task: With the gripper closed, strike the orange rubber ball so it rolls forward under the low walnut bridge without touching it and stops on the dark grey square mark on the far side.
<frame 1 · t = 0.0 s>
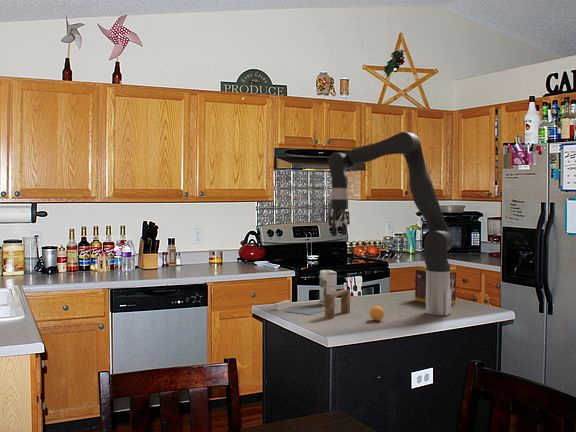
hand: (339, 235, 269), 29 cm above the counter, tool pointing down, fingers open, 8 cm apart
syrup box: (327, 304, 265), on the counter
bridge: (337, 315, 241), on the counter
supplement box: (435, 302, 271), on the counter
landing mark: (305, 311, 250), on the counter
ball: (377, 313, 232), on the counter
stopper wall: (283, 308, 256), on the counter
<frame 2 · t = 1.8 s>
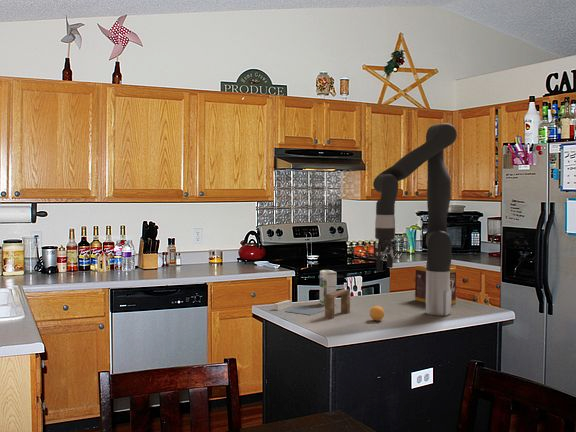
hand: (384, 268, 236), 19 cm above the counter, tool pointing down, fingers open, 8 cm apart
nothing on the counter moved.
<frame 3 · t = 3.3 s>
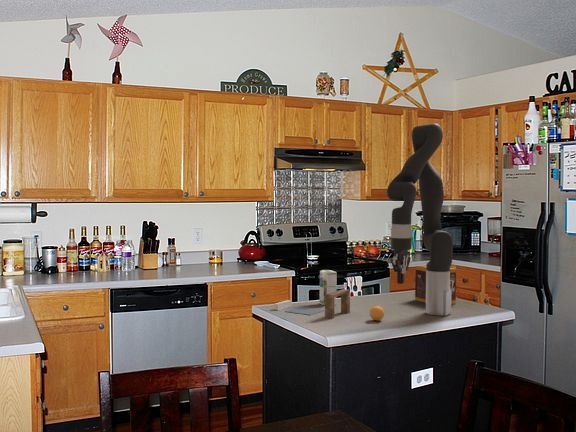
hand: (400, 283, 226), 15 cm above the counter, tool pointing down, fingers closed
nothing on the counter moved.
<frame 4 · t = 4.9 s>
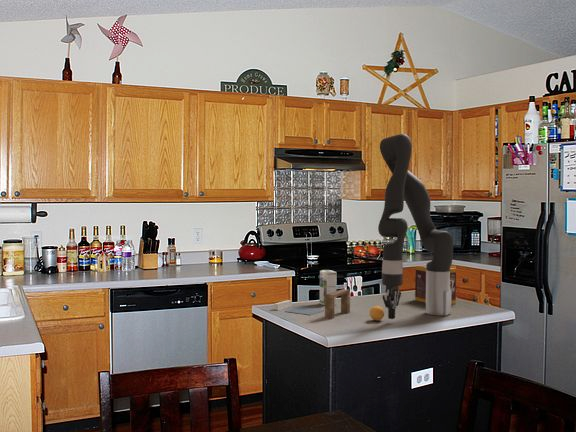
hand: (391, 318, 228), 2 cm above the counter, tool pointing down, fingers closed
nothing on the counter moved.
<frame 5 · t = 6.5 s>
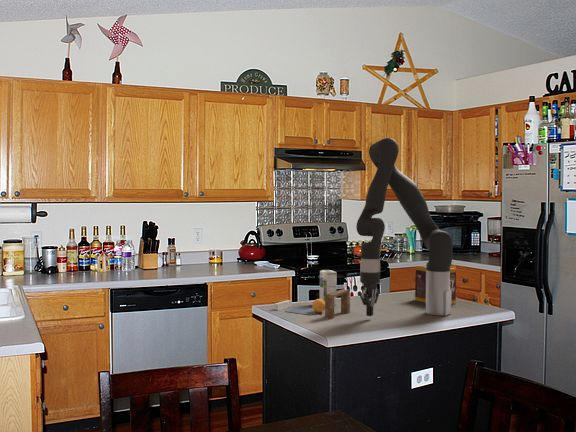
hand: (369, 315, 233), 2 cm above the counter, tool pointing down, fingers closed
ball: (319, 305, 247), on the counter
everything else where it was.
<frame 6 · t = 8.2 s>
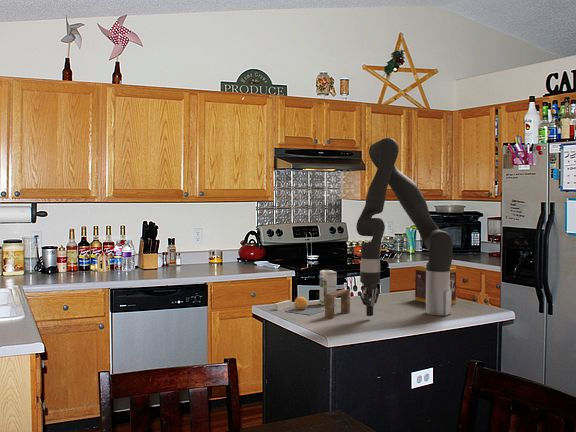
hand: (369, 315, 233), 2 cm above the counter, tool pointing down, fingers closed
ball: (300, 303, 252), on the counter
everything else where it was.
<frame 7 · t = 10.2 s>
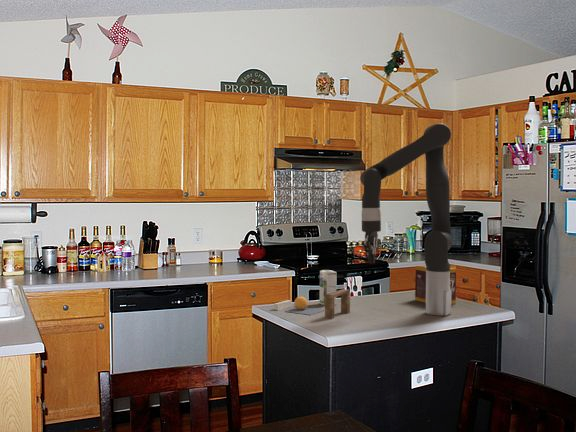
hand: (371, 263, 243), 20 cm above the counter, tool pointing down, fingers closed
nothing on the counter moved.
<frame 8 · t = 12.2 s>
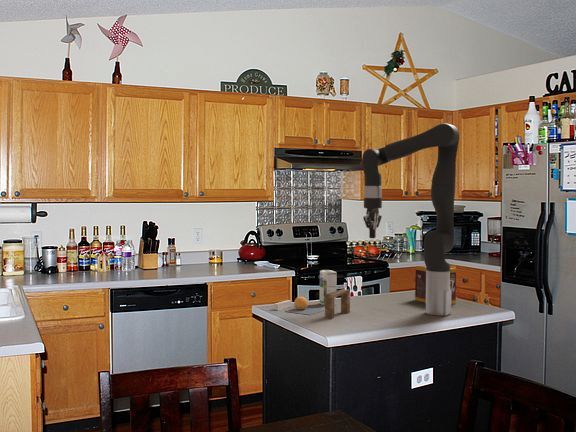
hand: (372, 238, 258), 29 cm above the counter, tool pointing down, fingers closed
nothing on the counter moved.
at the end: ball 2.9 cm from the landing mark (horizontally); ball never touched bridge; ball at rest at the end (0.0 cm/s) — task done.
